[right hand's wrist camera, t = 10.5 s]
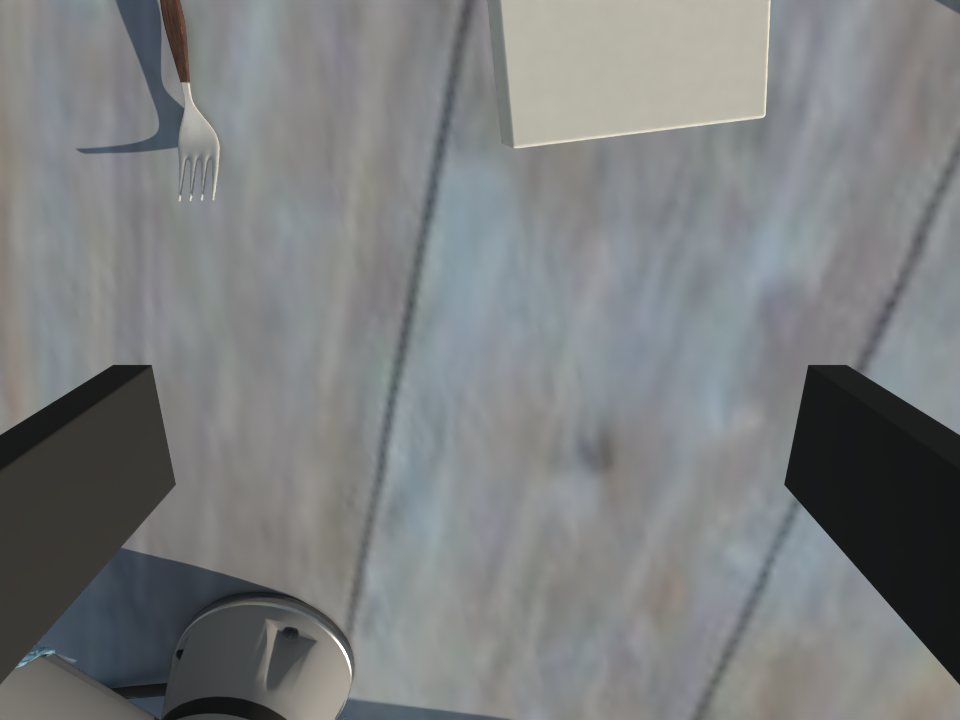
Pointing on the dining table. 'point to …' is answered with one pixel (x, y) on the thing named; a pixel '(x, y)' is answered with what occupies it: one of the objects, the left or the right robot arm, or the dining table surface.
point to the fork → (189, 106)
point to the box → (625, 66)
